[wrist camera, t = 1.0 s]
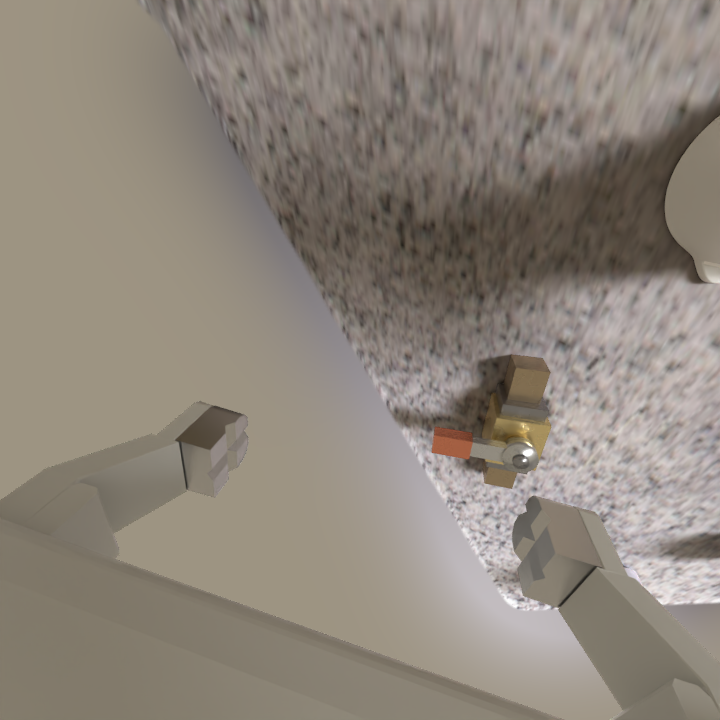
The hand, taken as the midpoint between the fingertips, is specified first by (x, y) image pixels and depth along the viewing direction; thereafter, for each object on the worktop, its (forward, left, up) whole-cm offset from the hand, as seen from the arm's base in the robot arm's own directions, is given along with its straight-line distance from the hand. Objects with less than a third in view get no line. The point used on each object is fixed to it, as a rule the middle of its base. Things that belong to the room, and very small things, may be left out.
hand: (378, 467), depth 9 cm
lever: (-9, +21, -28) cm, 37 cm away
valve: (-13, +21, -35) cm, 43 cm away
